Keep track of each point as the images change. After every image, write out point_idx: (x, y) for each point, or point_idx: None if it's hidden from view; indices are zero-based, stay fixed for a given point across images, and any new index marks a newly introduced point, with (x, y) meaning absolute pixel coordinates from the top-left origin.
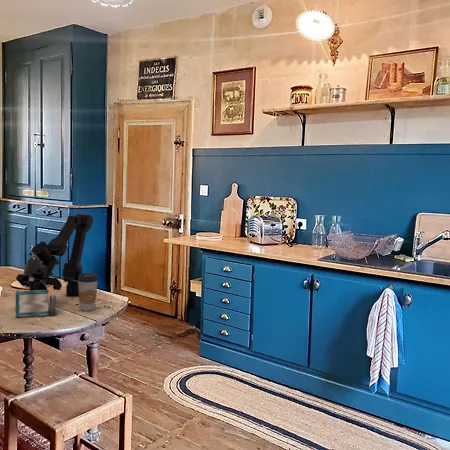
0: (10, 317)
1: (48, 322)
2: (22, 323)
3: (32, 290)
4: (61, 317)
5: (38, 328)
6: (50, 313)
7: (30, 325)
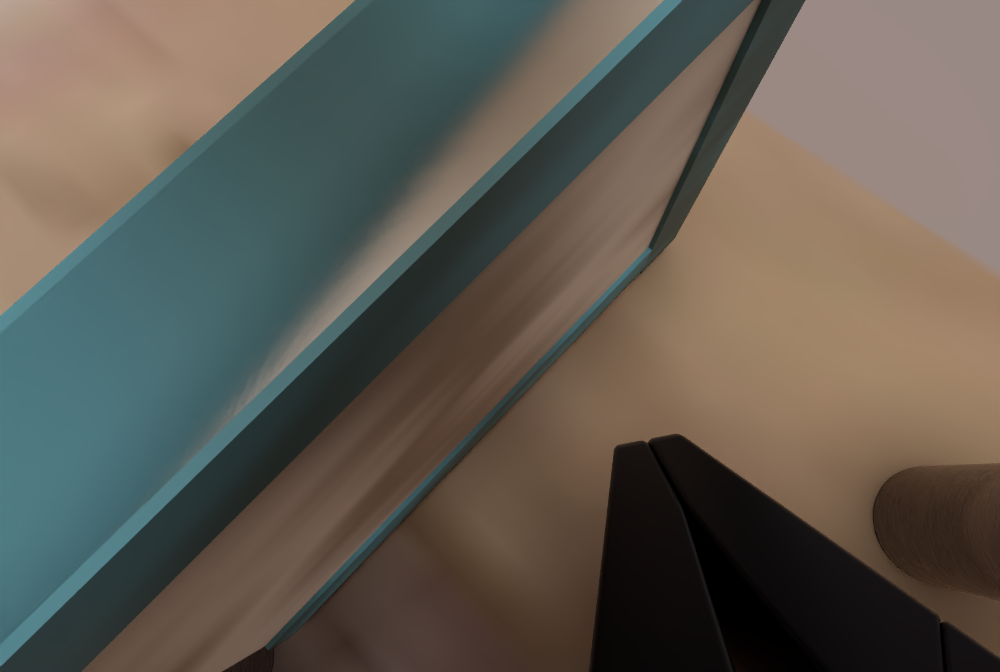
0: (708, 180)
1: None
2: None
3: (371, 286)
4: None
5: (20, 85)
6: None
7: (189, 105)
